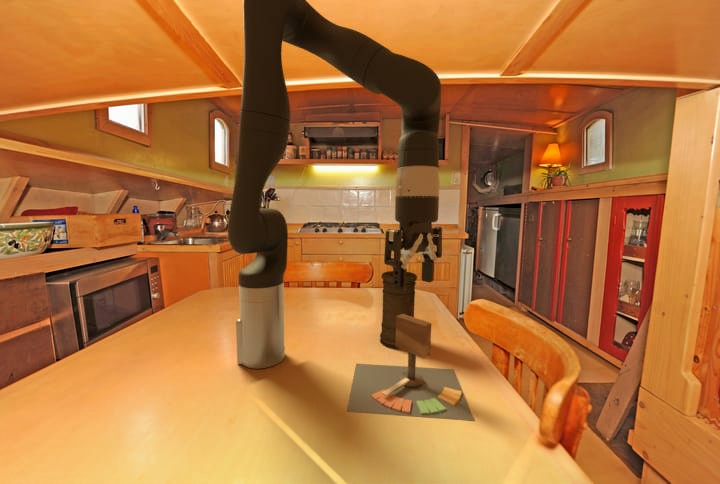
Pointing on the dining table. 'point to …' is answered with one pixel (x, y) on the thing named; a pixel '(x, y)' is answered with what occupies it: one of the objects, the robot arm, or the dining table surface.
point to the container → (395, 306)
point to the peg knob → (411, 348)
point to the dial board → (408, 393)
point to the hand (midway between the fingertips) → (414, 285)
